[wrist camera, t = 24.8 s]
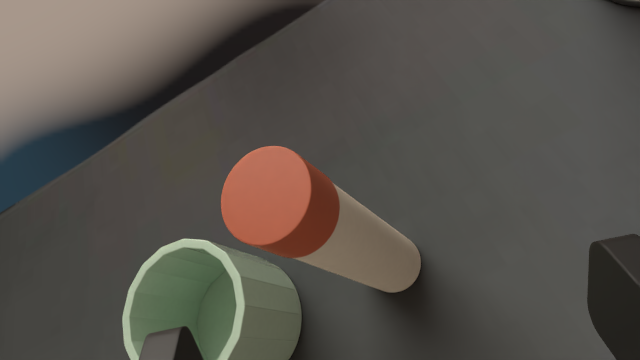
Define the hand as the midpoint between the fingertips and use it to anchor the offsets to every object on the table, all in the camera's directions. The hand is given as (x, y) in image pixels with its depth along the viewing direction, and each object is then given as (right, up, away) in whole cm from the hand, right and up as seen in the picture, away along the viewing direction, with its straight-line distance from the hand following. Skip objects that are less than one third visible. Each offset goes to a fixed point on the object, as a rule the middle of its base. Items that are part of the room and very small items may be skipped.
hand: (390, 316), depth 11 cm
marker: (+4, -3, +27) cm, 27 cm away
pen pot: (-7, -8, +30) cm, 32 cm away
